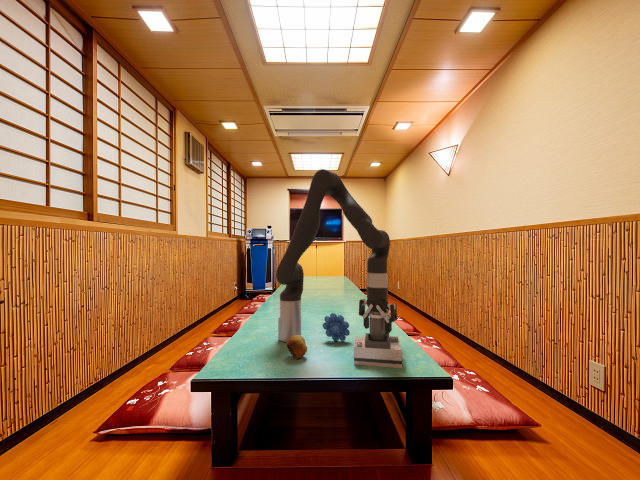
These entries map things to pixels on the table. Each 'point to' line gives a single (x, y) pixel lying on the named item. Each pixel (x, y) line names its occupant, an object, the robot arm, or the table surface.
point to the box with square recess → (378, 352)
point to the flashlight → (376, 326)
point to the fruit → (297, 346)
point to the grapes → (336, 327)
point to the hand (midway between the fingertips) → (377, 330)
